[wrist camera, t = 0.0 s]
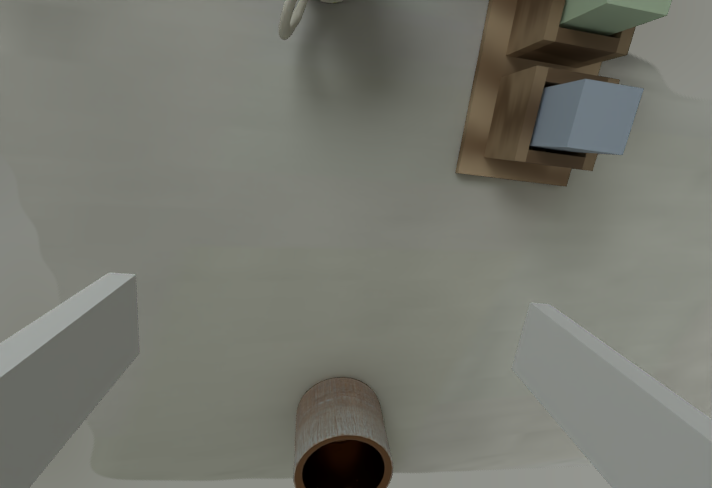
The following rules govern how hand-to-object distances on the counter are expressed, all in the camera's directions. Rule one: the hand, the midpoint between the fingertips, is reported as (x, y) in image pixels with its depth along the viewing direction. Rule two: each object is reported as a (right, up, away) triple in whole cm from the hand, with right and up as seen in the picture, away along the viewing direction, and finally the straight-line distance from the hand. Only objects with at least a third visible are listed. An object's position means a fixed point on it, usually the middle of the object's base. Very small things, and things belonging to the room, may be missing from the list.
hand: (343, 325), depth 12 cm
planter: (-2, -19, +35) cm, 40 cm away
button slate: (+19, +15, +22) cm, 33 cm away
